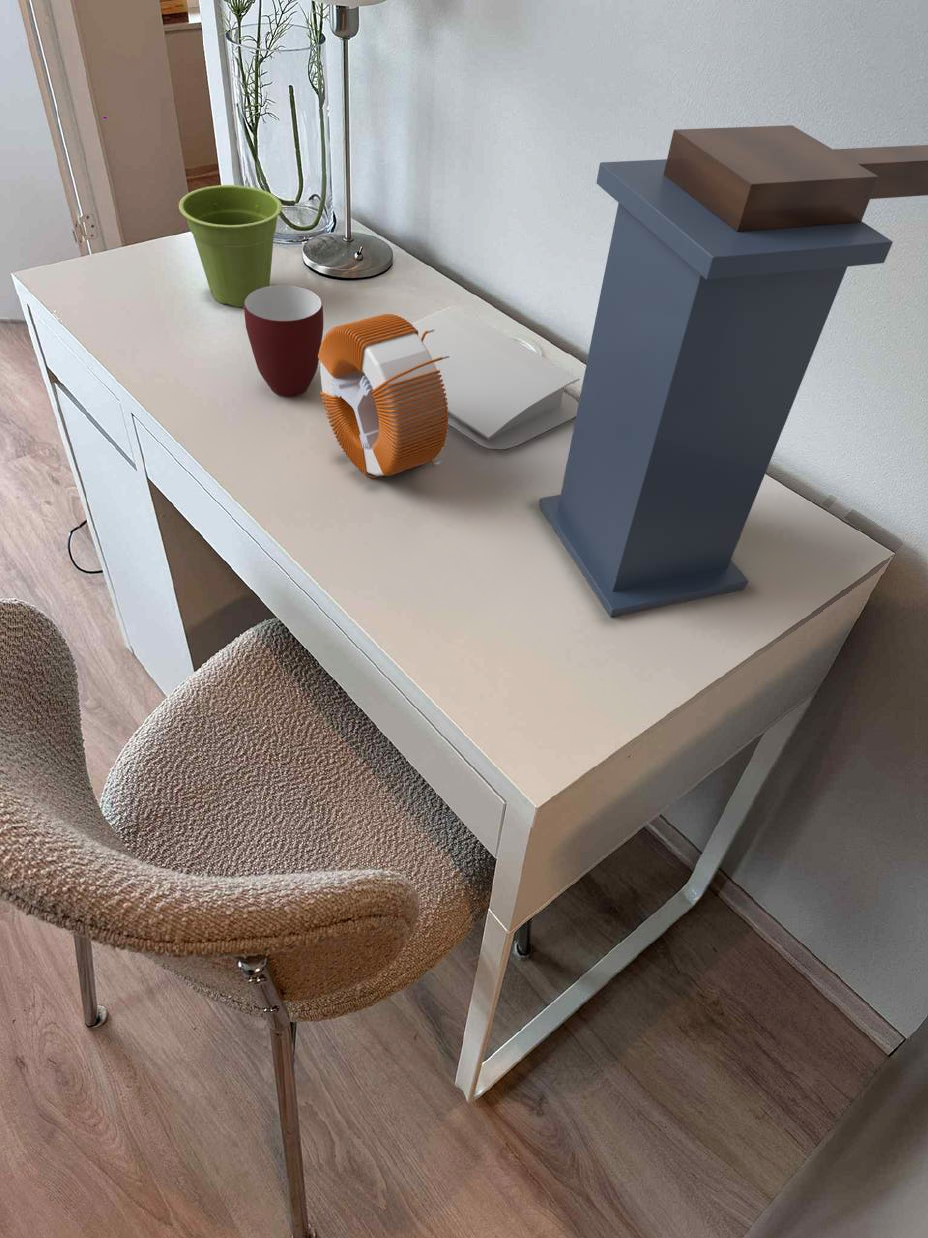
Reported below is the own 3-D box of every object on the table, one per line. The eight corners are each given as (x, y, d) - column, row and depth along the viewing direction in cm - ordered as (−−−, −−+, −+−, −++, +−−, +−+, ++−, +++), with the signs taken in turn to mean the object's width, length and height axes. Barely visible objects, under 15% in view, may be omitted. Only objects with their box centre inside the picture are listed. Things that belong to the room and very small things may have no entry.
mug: (229, 369, 100) (218, 284, 93) (292, 352, 104) (287, 269, 97) (274, 415, 95) (266, 328, 88) (339, 395, 99) (337, 310, 91)
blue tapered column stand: (661, 484, 92) (760, 154, 69) (745, 588, 82) (893, 241, 59) (538, 505, 88) (599, 161, 65) (610, 617, 77) (712, 256, 55)
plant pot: (172, 295, 111) (156, 202, 103) (240, 265, 118) (231, 176, 110) (239, 327, 107) (229, 234, 99) (307, 294, 114) (302, 205, 106)
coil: (394, 509, 85) (398, 372, 75) (316, 431, 93) (309, 297, 83) (452, 487, 89) (464, 352, 78) (372, 413, 97) (372, 281, 86)
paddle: (924, 160, 71) (942, 119, 69) (1016, 210, 65) (1038, 167, 62) (663, 174, 64) (673, 129, 62) (736, 232, 58) (751, 183, 55)
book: (454, 326, 112) (457, 296, 109) (591, 408, 101) (597, 378, 98) (358, 362, 104) (358, 331, 101) (494, 456, 93) (498, 424, 90)
